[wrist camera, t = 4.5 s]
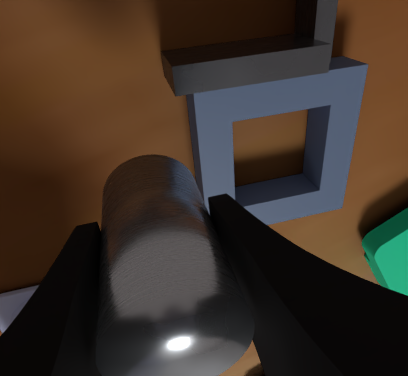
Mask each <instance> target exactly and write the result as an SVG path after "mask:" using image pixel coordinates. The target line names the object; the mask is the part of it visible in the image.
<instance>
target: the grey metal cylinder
mask: <svg viewBox="0 0 408 376" xmlns="http://www.w3.org/2000/svg"><path fill="white" fill-rule="evenodd" d="M254 329H255V325H254V319H253V317H252V314H251V312H250V309H249V307H248V305H247V302H246V300H245V298H244V295H243V293H242V290H241V288H240V286H239V283H238V281H237V279H236V276H235V274H234V272H233V269H232V267H231V264H230V262H229V260H228V257H227V255H226V253H225V250H224V248H223V245H222V243H221V241H220V238H219V236H218V234H217V231H216V229H215V227H214V224H213V222H212V219H211V217H210V215H209V212H208V210H207V208H206V205H205V203H204V200H203V198H202V196H201V193H200V191H199V189H198V186H197V184H196V182H195V179H194V177H193V175H192V173H191V172H190V171H189V170H188V168H187V167H186V166H184V165H183V164H182V163H180V162H179V161H177V160H175V159H173V158H170V157H167V156H163V155H142V156H138V157H135V158H132V159H130V160H128V161H126V162H124V163H122V164H121V165H119V166H118V167H117V168H116V169H115V170H114V171H113V172H112V173H111V174H110V176H109V177H108V179H107V181H106V183H105V185H104V189H103V196H102V219H101V242H100V266H99V289H98V313H97V336H96V365H97V368H98V370H99V372H100V374H101V375H102V376H218V375H219V374H221V373H223V372H224V371H226V370H227V369H228V368H230V367H231V366H232V365H233V364H235V363H236V362H237V361H238V360H239V359H240V358H241V357H242V356H243V354H244V353H245V352H246V350H247V349H248V347H249V346H250V344H251V341H252V339H253V336H254Z"/></svg>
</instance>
